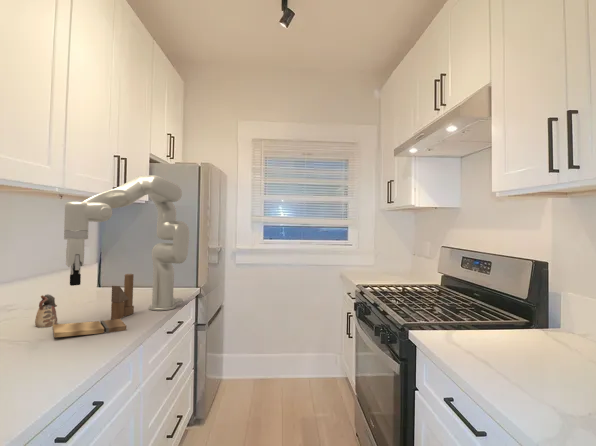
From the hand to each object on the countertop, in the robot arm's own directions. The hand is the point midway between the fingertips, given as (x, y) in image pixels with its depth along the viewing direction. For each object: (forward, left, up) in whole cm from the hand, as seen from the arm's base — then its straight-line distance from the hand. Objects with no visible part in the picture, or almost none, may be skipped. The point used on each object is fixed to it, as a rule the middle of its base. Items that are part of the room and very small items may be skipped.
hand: (75, 284), depth 128 cm
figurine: (+7, -16, -18) cm, 25 cm away
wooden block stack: (-20, -15, -18) cm, 30 cm away
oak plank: (-1, +1, -17) cm, 17 cm away
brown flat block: (-13, +1, -18) cm, 22 cm away
